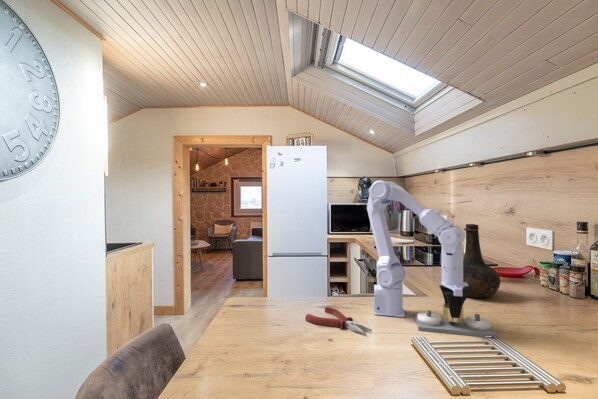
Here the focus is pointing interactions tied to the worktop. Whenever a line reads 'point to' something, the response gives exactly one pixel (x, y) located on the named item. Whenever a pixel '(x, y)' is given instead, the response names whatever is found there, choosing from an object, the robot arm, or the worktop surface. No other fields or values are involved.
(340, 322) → the pliers
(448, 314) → the brass gear
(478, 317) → the gear board
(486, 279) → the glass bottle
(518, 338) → the worktop surface
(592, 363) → the worktop surface
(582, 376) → the worktop surface
